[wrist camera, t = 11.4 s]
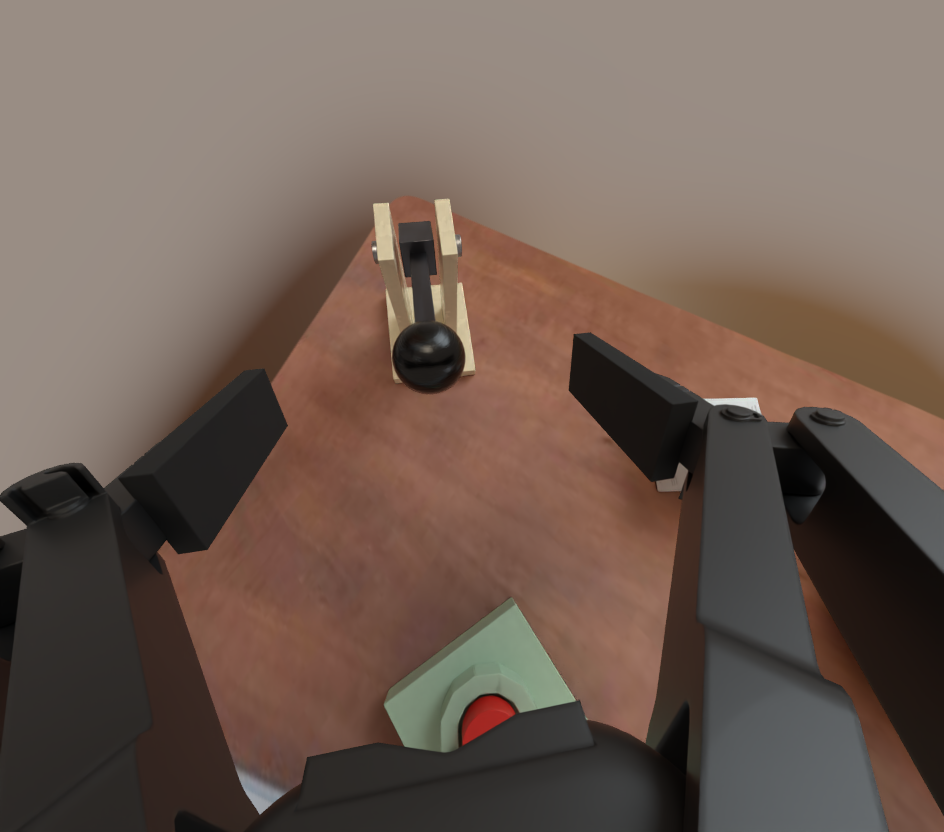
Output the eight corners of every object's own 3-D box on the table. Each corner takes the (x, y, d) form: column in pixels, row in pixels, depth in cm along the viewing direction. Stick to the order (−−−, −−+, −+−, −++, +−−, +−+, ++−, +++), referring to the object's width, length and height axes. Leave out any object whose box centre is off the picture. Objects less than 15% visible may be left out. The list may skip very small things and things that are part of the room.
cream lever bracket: (474, 374, 34) (488, 290, 20) (395, 383, 33) (355, 302, 20) (461, 289, 36) (466, 164, 23) (387, 296, 35) (347, 171, 22)
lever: (470, 404, 17) (470, 350, 14) (400, 412, 17) (384, 360, 14) (443, 261, 25) (439, 210, 23) (396, 265, 25) (386, 214, 22)
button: (482, 778, 22) (484, 801, 21) (450, 720, 23) (450, 737, 21) (530, 737, 23) (536, 756, 21) (497, 682, 24) (501, 695, 22)
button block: (455, 820, 25) (456, 879, 21) (388, 688, 26) (377, 720, 23) (581, 710, 27) (603, 745, 23) (511, 596, 29) (520, 610, 25)
